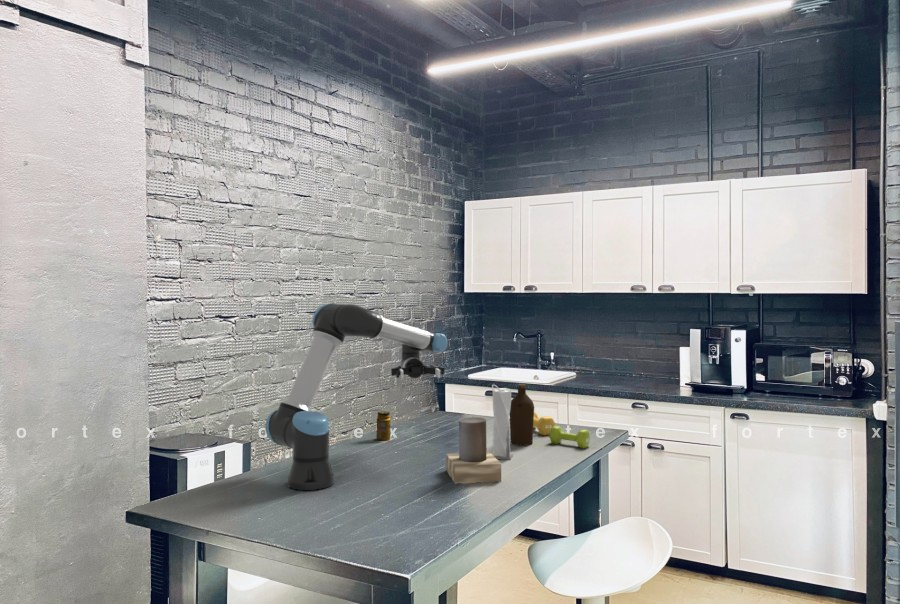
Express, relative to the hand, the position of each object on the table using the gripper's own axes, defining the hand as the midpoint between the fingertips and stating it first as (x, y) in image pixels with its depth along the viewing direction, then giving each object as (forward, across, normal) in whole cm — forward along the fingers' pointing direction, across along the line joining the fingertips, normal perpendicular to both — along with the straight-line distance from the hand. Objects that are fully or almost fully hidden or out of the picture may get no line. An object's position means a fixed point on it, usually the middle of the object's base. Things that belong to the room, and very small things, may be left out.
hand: (421, 374), depth 232 cm
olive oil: (-30, -47, -34) cm, 65 cm away
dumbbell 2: (-23, -66, -34) cm, 78 cm away
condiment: (-45, +11, -34) cm, 58 cm away
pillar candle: (+14, -16, -28) cm, 36 cm away
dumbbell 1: (-50, -61, -34) cm, 87 cm away
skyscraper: (-10, -33, -34) cm, 49 cm away
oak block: (+14, -16, -34) cm, 40 cm away
